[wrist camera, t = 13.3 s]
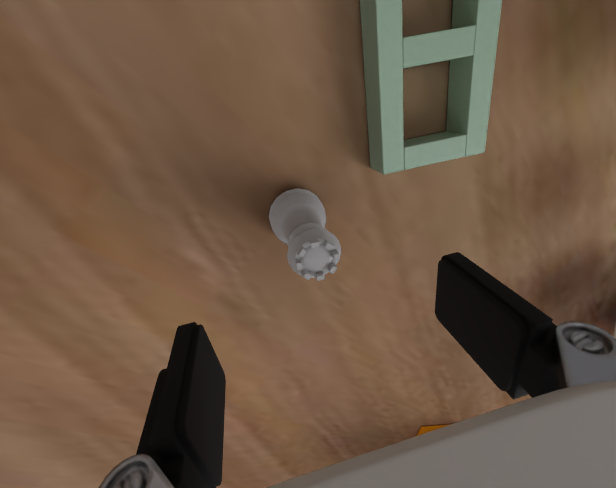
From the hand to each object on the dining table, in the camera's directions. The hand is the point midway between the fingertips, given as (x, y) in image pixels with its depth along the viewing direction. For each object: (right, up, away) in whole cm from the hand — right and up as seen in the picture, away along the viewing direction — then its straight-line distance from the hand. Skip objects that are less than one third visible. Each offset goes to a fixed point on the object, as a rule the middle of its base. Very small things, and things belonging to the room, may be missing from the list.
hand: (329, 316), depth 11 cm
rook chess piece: (-2, +5, +12) cm, 14 cm away
